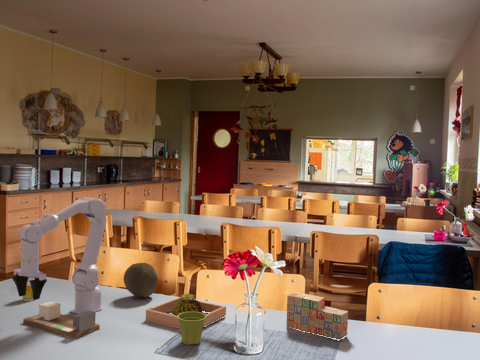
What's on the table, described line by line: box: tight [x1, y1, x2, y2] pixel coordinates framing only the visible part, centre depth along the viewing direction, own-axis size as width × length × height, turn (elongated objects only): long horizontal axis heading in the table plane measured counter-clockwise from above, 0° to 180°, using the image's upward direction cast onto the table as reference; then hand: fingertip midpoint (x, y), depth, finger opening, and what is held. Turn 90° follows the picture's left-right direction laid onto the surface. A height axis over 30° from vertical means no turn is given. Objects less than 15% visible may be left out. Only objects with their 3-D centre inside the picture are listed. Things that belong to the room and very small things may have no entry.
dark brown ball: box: [123, 262, 159, 298], centre depth 203 cm, size 14×14×15 cm
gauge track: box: [22, 310, 100, 339], centre depth 165 cm, size 11×26×6 cm, turn 60°
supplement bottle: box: [22, 277, 35, 302], centre depth 195 cm, size 5×5×10 cm
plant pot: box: [178, 312, 206, 346], centre depth 154 cm, size 9×9×9 cm
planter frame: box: [145, 297, 227, 330], centre depth 178 cm, size 21×22×4 cm
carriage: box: [36, 301, 61, 321], centre depth 167 cm, size 8×5×5 cm, turn 150°
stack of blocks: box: [286, 291, 349, 339], centre depth 168 cm, size 21×6×12 cm, turn 53°
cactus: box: [171, 292, 206, 316], centre depth 177 cm, size 17×16×10 cm
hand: (29, 297), depth 165 cm, fingers open, 7 cm apart
